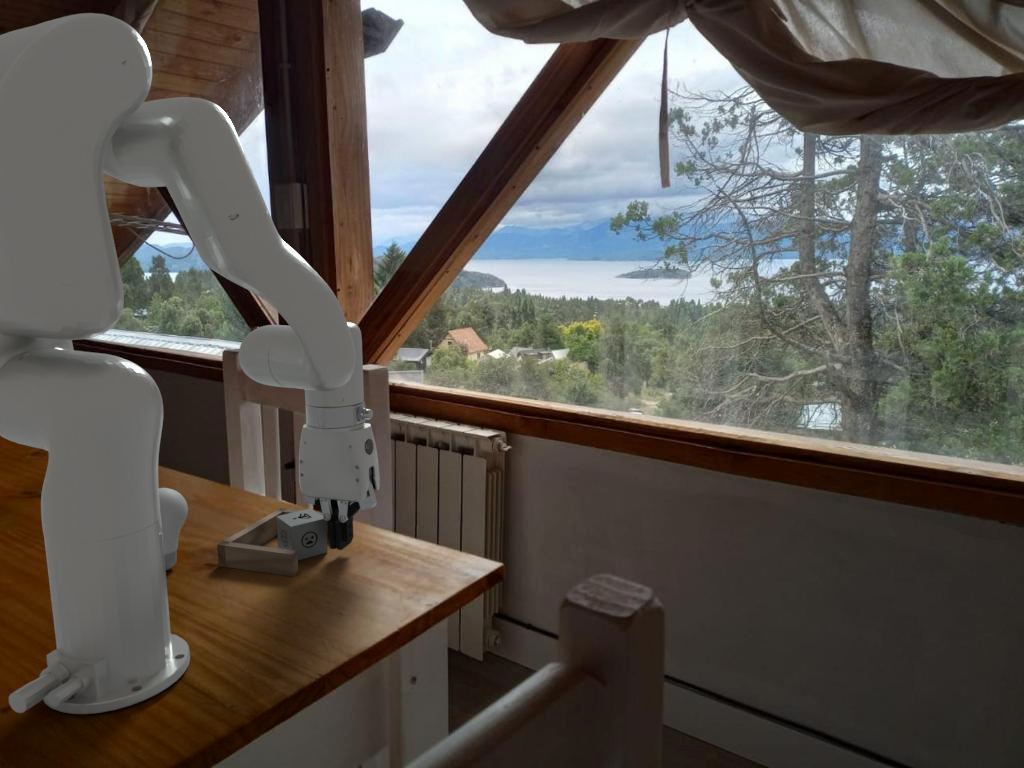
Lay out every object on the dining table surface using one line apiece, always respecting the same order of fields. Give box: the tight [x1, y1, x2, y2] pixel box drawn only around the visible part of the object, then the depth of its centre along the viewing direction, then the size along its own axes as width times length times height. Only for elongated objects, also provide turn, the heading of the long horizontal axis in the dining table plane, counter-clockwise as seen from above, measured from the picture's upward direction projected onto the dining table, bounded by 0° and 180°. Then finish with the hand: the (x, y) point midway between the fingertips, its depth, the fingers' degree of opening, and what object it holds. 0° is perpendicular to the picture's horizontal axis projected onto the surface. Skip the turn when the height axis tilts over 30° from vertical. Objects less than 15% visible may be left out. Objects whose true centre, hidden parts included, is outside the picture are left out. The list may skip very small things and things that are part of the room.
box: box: [216, 507, 328, 577], centre depth 98 cm, size 14×11×3 cm
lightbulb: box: [159, 487, 189, 571], centre depth 91 cm, size 6×6×11 cm
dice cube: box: [276, 507, 328, 561], centre depth 97 cm, size 5×5×5 cm
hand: (341, 545), depth 96 cm, fingers closed
